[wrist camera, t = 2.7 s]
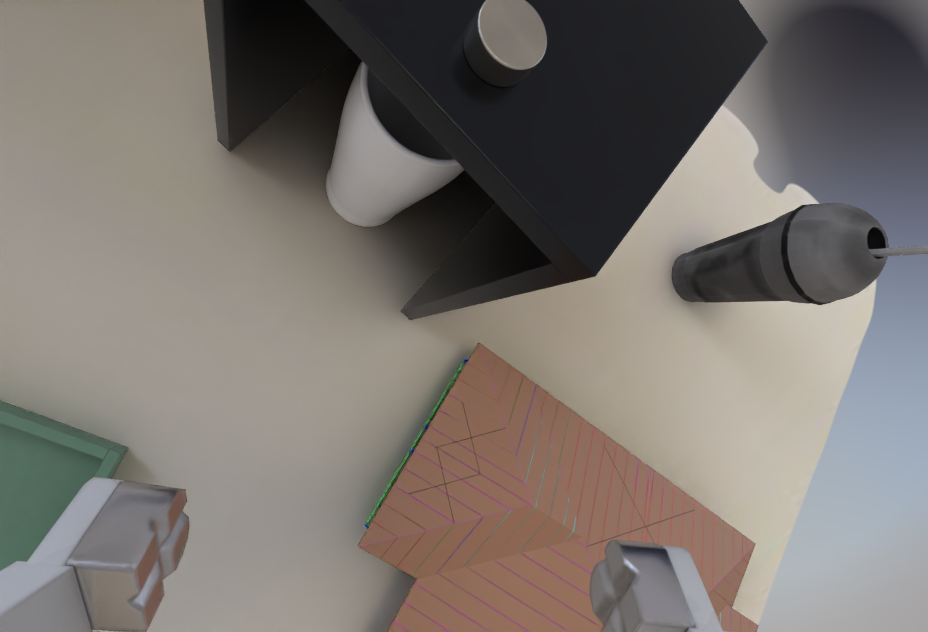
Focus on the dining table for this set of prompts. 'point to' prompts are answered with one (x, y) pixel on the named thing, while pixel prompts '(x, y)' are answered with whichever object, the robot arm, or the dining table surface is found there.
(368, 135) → the drinking glass
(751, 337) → the dining table surface
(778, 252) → the beverage cup
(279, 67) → the black coffee maker
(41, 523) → the tray
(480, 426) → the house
